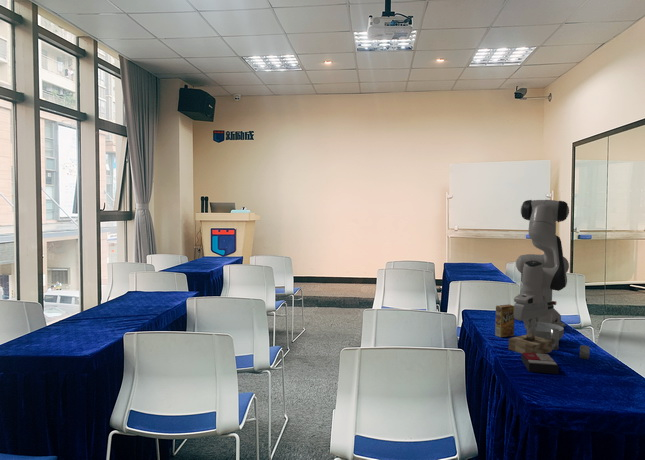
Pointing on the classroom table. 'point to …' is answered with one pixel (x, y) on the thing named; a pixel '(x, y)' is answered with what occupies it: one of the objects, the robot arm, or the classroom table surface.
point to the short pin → (584, 352)
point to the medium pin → (554, 338)
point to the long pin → (531, 330)
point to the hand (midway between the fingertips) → (530, 327)
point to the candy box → (504, 321)
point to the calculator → (539, 363)
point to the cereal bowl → (547, 330)
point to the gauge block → (530, 345)
